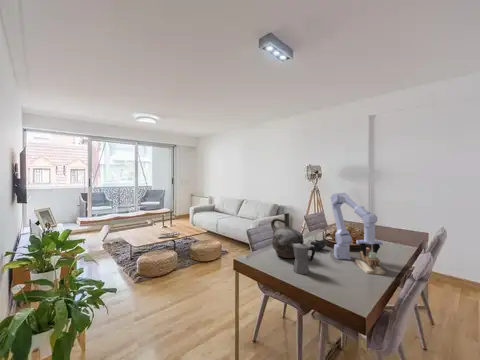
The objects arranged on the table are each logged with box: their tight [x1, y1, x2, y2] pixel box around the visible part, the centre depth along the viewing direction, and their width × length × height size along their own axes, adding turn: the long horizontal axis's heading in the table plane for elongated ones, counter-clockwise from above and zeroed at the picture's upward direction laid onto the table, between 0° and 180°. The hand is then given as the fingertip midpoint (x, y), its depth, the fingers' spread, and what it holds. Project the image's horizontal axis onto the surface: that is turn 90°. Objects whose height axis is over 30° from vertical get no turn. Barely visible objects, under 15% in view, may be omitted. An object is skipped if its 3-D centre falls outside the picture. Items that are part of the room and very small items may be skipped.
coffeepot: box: [291, 240, 316, 275], centre depth 133 cm, size 15×9×18 cm, turn 43°
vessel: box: [270, 212, 305, 259], centre depth 159 cm, size 24×22×30 cm
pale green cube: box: [368, 251, 377, 259], centre depth 134 cm, size 3×3×3 cm
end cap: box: [310, 239, 326, 252], centre depth 171 cm, size 10×7×7 cm
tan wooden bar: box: [359, 250, 381, 268], centre depth 139 cm, size 16×5×4 cm, turn 173°
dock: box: [354, 258, 387, 275], centre depth 139 cm, size 10×18×2 cm, turn 173°
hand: (369, 256), depth 138 cm, fingers closed on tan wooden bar, 5 cm apart
